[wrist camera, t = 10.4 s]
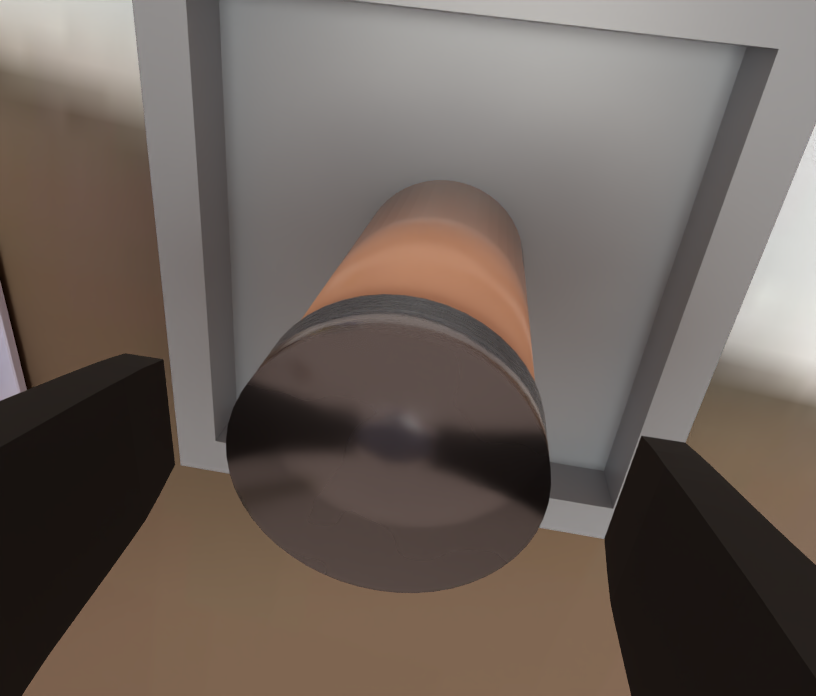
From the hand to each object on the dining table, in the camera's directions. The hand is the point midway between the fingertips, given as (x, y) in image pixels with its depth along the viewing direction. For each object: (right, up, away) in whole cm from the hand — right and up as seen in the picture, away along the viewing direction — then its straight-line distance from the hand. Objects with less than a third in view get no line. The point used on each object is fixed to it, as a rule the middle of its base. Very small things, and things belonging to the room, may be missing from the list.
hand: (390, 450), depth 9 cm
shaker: (+1, +4, +7) cm, 8 cm away
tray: (+1, +4, +8) cm, 9 cm away
